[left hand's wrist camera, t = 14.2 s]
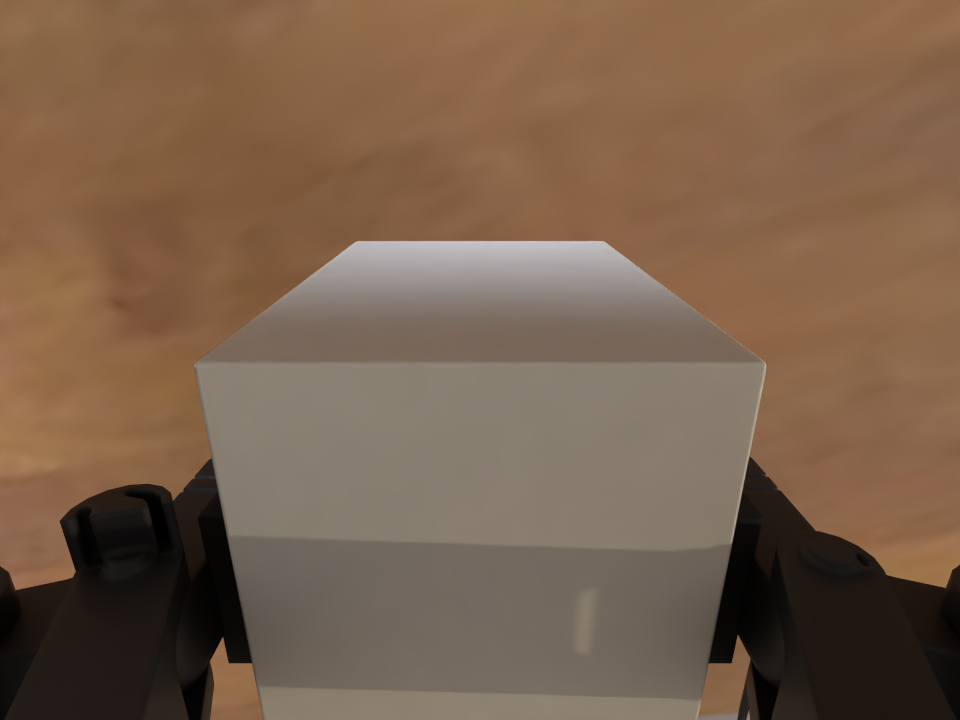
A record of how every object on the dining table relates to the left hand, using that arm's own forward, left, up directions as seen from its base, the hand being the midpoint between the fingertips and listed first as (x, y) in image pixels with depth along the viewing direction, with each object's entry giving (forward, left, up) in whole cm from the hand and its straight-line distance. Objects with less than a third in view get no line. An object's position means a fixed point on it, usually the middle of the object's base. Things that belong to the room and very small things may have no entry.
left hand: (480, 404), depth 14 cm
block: (0, 0, -1) cm, 1 cm away
